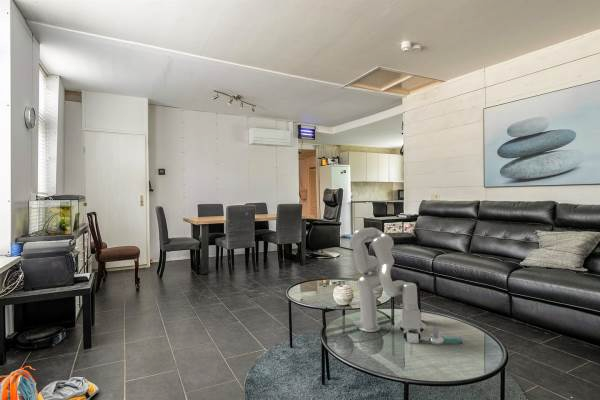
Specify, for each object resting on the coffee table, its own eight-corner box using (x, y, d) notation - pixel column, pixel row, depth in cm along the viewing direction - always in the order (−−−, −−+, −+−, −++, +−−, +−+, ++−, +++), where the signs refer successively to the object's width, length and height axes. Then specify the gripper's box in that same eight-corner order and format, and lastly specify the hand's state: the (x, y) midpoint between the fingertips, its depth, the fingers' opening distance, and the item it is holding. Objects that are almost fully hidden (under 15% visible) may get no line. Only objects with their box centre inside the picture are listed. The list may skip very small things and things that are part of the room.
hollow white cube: (407, 342, 173) (406, 333, 174) (406, 338, 179) (405, 329, 179) (418, 343, 172) (418, 333, 172) (417, 339, 178) (416, 329, 178)
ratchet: (429, 344, 170) (428, 331, 170) (427, 338, 178) (426, 325, 178) (463, 346, 166) (462, 332, 166) (459, 340, 174) (458, 326, 174)
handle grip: (426, 324, 198) (422, 319, 208) (423, 280, 199) (419, 277, 209) (409, 324, 199) (405, 319, 209) (407, 281, 200) (403, 277, 210)
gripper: (394, 308, 174) (396, 342, 174) (428, 308, 170) (430, 343, 170) (393, 303, 182) (395, 336, 181) (426, 304, 178) (428, 338, 177)
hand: (412, 339), depth 176 cm, fingers closed on hollow white cube, 5 cm apart
